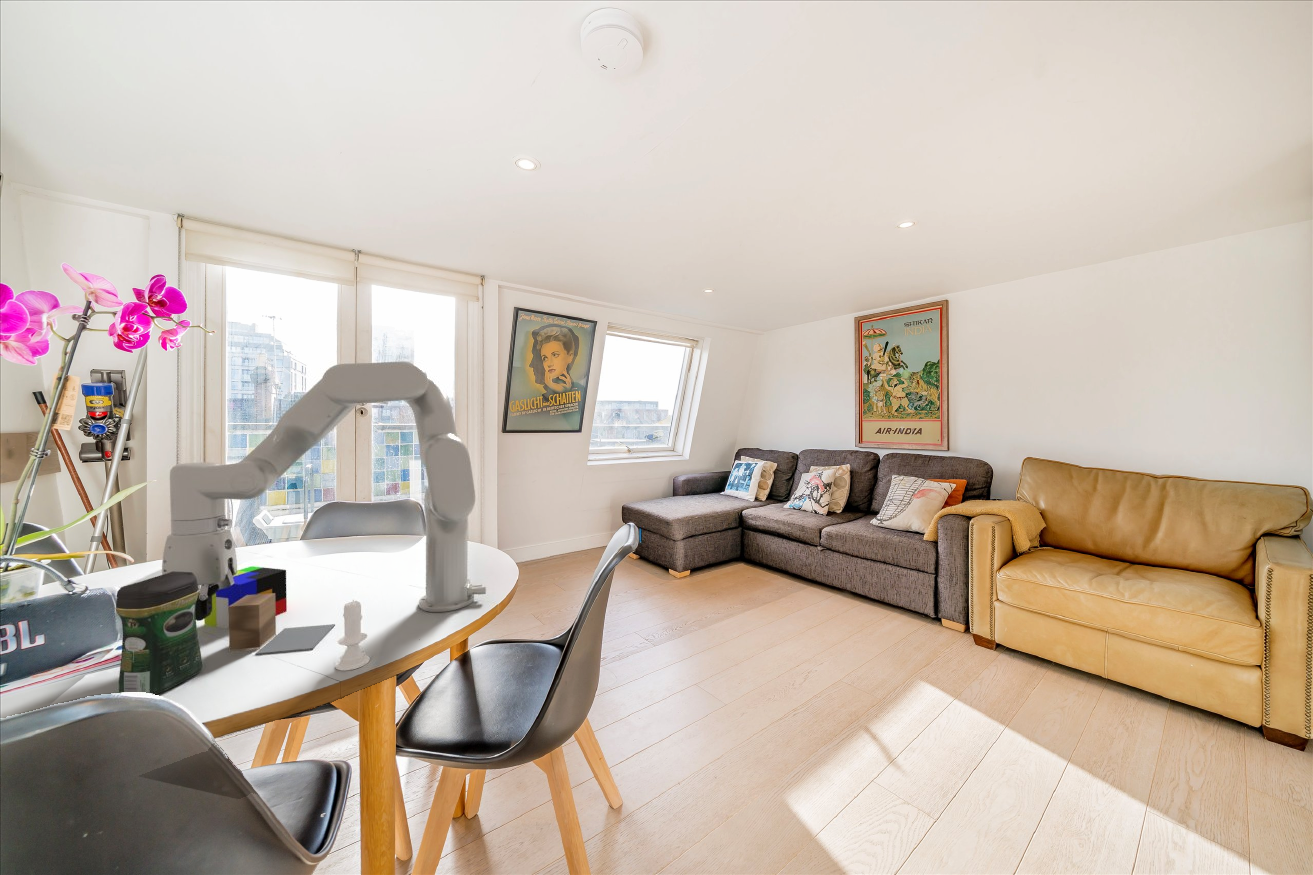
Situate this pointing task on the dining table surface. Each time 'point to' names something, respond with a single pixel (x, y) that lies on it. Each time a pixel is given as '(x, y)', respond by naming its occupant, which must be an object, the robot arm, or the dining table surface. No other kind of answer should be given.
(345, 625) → the candle
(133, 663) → the coffee jar
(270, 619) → the block
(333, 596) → the dining table surface
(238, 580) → the puzzle toy
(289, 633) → the mat
